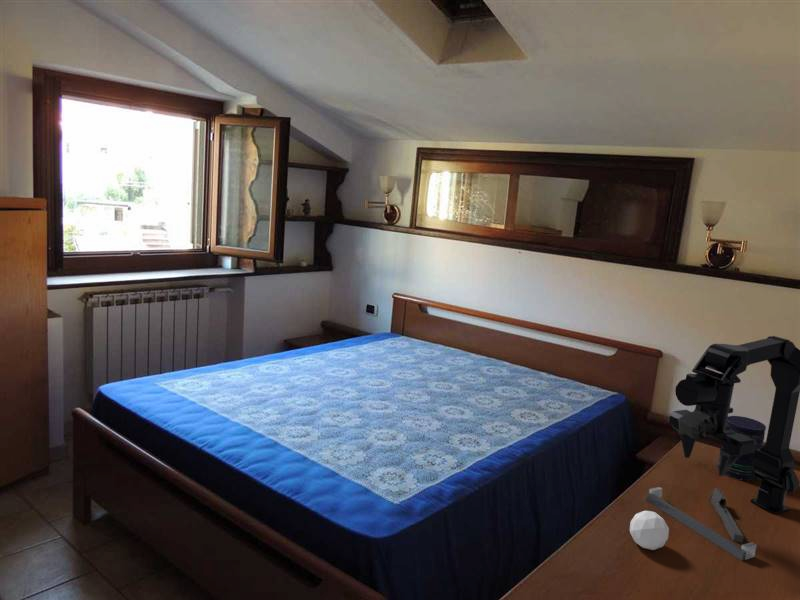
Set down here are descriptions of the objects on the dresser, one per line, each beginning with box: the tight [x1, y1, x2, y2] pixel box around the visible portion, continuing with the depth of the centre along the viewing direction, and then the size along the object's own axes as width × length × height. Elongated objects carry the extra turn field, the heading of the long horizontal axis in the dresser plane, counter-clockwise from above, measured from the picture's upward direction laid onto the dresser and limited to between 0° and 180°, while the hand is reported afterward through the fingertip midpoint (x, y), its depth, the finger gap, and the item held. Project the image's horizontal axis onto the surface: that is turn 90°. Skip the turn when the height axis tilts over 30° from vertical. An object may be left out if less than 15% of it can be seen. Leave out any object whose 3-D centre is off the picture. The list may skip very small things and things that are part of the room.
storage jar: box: [716, 415, 767, 481], centre depth 175 cm, size 10×10×15 cm
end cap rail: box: [645, 486, 757, 561], centre depth 145 cm, size 4×26×3 cm, turn 26°
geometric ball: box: [629, 510, 670, 551], centre depth 135 cm, size 8×8×8 cm
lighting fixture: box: [709, 487, 745, 544], centre depth 149 cm, size 19×3×4 cm, turn 169°
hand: (703, 466), depth 143 cm, fingers open, 9 cm apart
